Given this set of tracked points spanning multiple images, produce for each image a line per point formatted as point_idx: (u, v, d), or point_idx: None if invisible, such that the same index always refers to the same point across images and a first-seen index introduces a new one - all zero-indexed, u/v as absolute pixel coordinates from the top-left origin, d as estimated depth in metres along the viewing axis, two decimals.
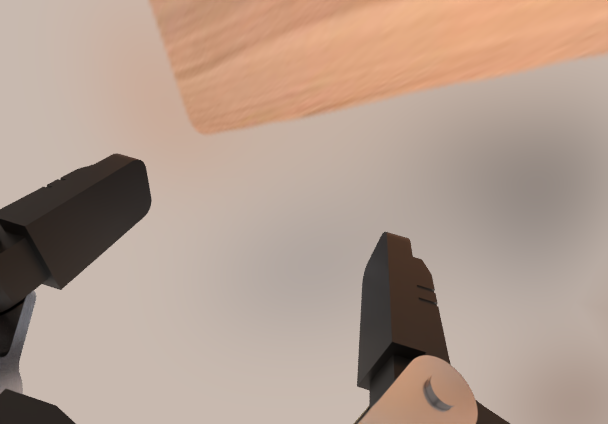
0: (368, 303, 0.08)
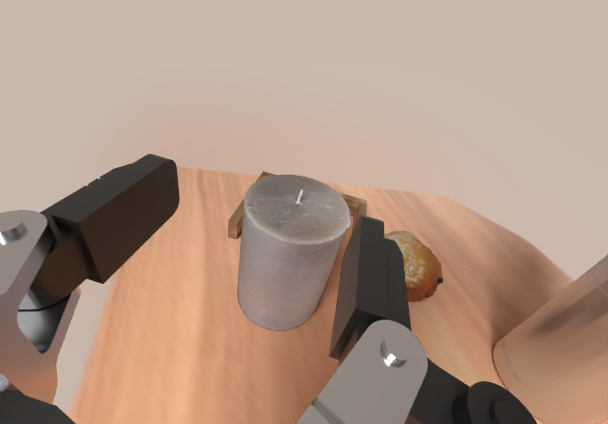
0: (343, 282, 0.08)
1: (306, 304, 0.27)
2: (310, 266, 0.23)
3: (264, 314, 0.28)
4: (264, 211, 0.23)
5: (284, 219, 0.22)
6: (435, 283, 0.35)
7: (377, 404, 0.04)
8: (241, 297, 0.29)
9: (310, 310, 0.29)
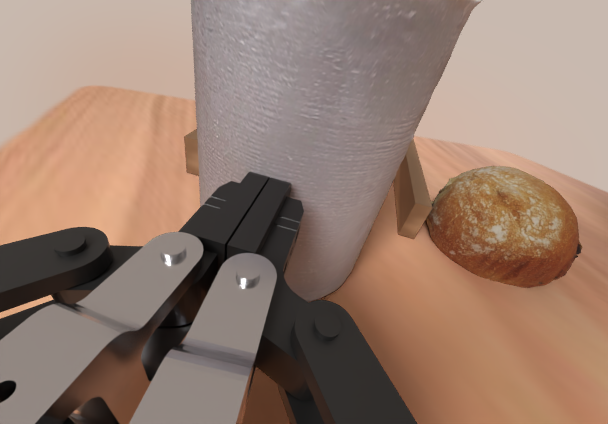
0: None
1: (341, 245, 0.12)
2: (371, 103, 0.08)
3: None
4: None
5: None
6: (575, 252, 0.18)
7: (239, 321, 0.05)
8: None
9: (345, 265, 0.14)
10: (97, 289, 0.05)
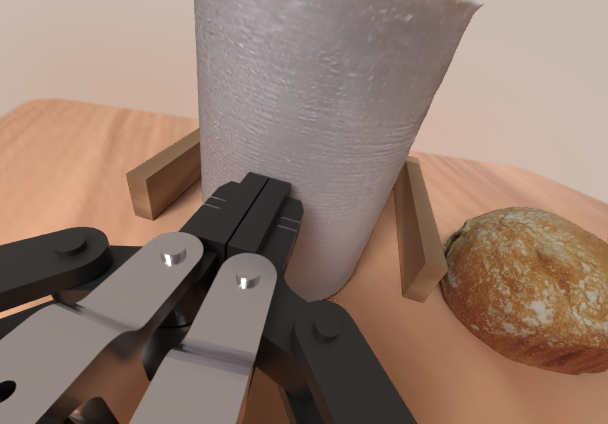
0: None
1: (340, 248, 0.12)
2: (368, 106, 0.08)
3: None
4: None
5: None
6: None
7: (240, 320, 0.05)
8: None
9: (345, 269, 0.14)
10: (97, 289, 0.05)
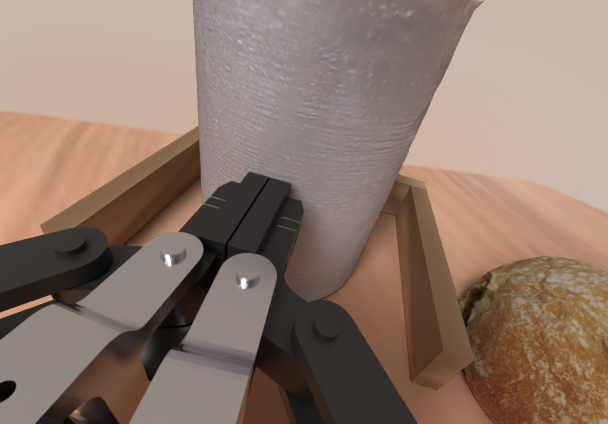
0: None
1: (340, 247, 0.12)
2: (368, 103, 0.08)
3: None
4: None
5: None
6: None
7: (239, 321, 0.05)
8: None
9: (344, 267, 0.14)
10: (97, 289, 0.05)
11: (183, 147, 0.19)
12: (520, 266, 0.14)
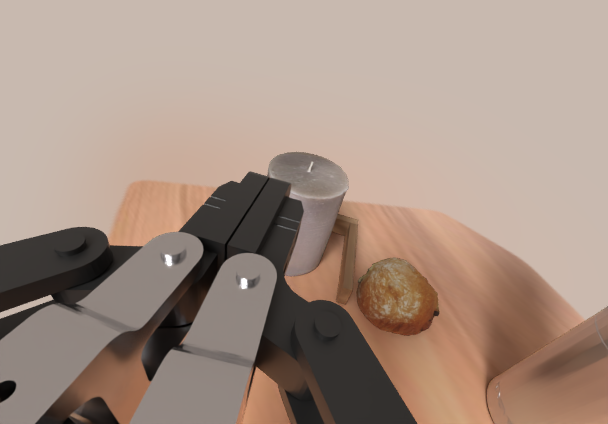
0: None
1: (311, 254, 0.35)
2: (315, 218, 0.31)
3: None
4: (283, 174, 0.31)
5: (298, 181, 0.30)
6: (431, 317, 0.33)
7: (239, 321, 0.05)
8: None
9: (314, 261, 0.37)
10: (97, 289, 0.05)
11: None
12: (381, 261, 0.37)
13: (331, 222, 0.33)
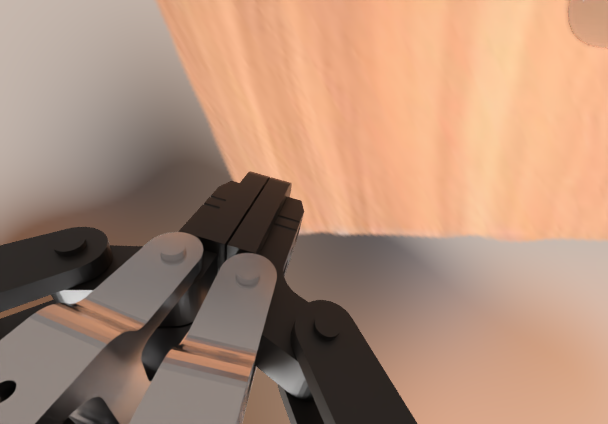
0: None
1: None
2: None
3: None
4: None
5: None
6: None
7: (239, 321, 0.05)
8: None
9: None
10: (97, 289, 0.05)
11: None
12: None
13: None
